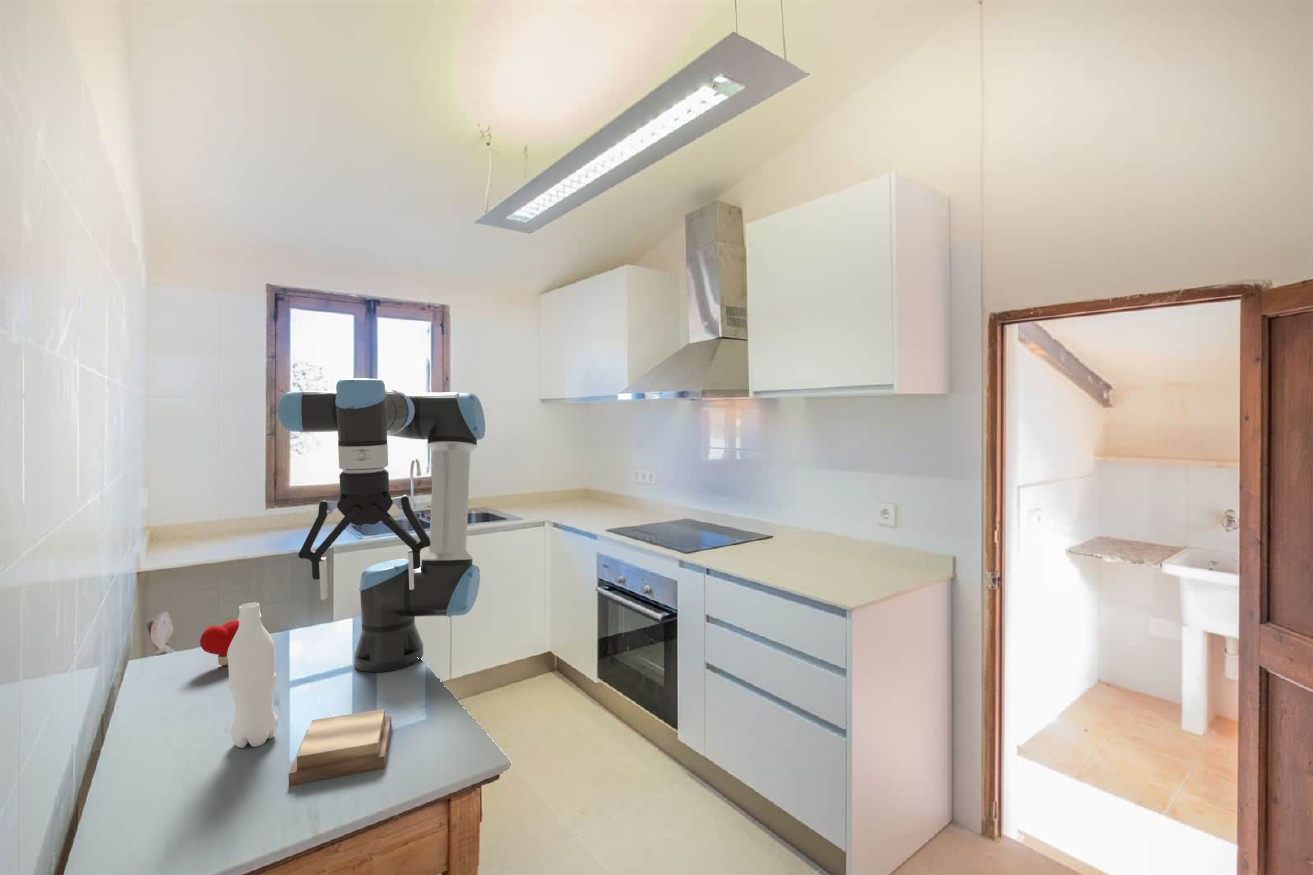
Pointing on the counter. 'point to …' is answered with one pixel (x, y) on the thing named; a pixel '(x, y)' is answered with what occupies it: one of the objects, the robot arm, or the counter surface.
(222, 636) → the red heart on stem
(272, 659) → the water bottle
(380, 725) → the oak slab
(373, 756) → the walnut slab
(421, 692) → the counter surface
